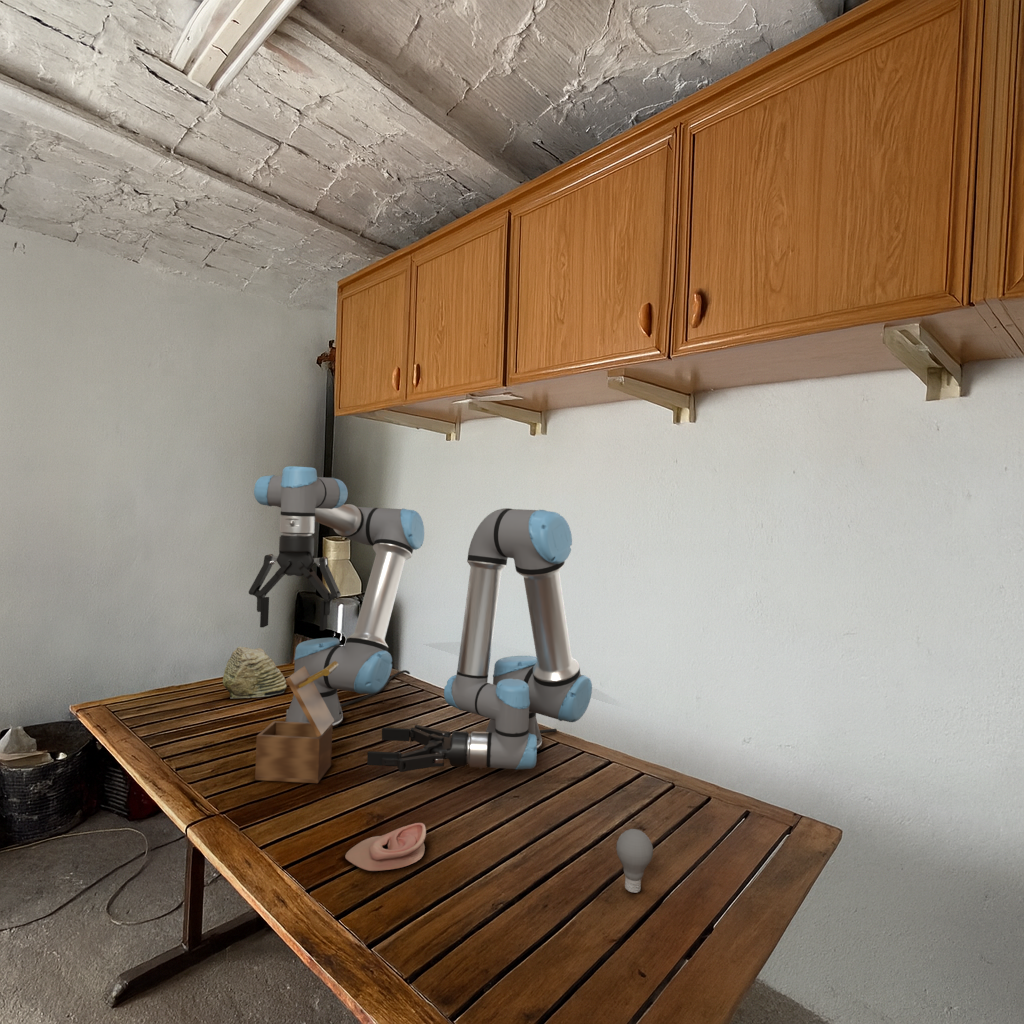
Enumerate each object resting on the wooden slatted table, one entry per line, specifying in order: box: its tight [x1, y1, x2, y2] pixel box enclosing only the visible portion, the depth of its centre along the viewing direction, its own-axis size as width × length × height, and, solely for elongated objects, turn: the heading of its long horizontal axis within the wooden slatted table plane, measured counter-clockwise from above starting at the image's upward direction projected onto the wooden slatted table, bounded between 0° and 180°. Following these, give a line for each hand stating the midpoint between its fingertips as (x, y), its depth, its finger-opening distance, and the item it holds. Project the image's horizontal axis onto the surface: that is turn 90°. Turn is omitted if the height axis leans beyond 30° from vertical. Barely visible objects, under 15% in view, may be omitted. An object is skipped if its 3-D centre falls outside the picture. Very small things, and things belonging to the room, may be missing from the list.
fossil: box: [222, 646, 288, 699], centre depth 198 cm, size 9×18×15 cm, turn 132°
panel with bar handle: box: [285, 661, 338, 737], centre depth 144 cm, size 15×9×9 cm
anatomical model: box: [344, 822, 427, 872], centre depth 113 cm, size 13×4×12 cm
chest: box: [254, 720, 333, 784], centre depth 145 cm, size 14×9×10 cm
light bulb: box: [615, 828, 654, 894], centre depth 106 cm, size 6×6×10 cm
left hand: (293, 627), depth 144 cm, fingers open, 13 cm apart
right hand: (375, 745), depth 144 cm, fingers open, 13 cm apart
